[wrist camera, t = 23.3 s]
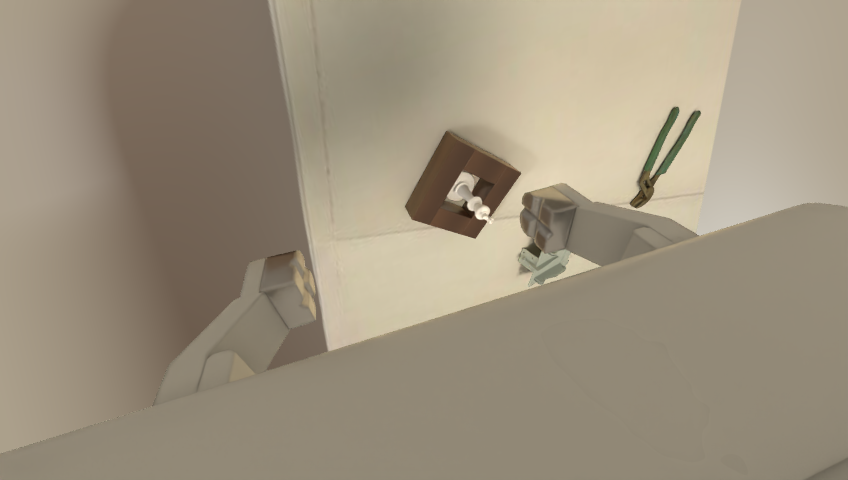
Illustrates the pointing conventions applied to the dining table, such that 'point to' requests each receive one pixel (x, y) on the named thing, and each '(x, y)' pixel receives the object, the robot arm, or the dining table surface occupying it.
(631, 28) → the dining table surface
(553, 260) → the metal bracket
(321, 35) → the dining table surface
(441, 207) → the socket block
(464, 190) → the chess piece
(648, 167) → the pliers
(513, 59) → the dining table surface
